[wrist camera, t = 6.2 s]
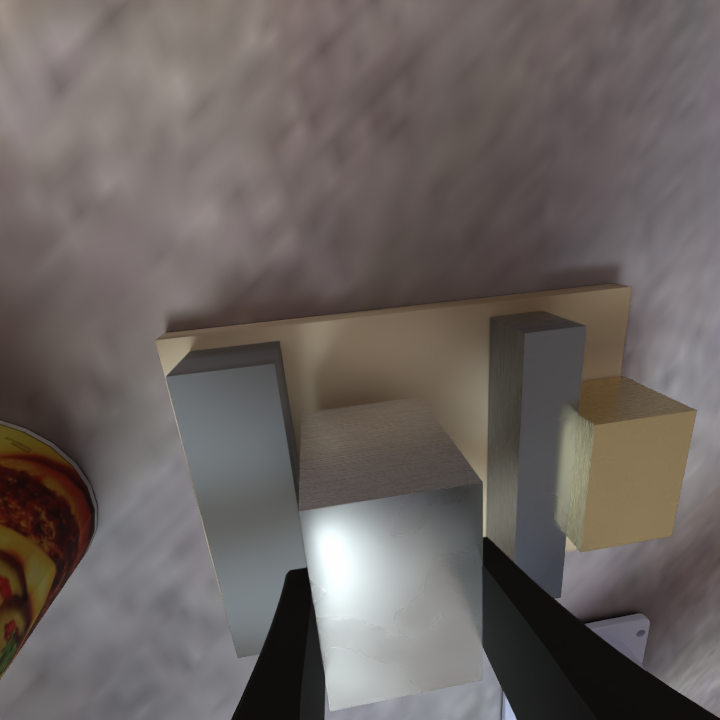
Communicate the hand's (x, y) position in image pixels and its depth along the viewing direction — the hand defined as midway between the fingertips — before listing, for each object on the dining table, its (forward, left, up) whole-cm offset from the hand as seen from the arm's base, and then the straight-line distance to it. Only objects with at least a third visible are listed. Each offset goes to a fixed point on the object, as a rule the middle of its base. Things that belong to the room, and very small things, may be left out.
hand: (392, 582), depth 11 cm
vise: (0, -2, -6) cm, 7 cm away
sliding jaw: (0, -8, -5) cm, 9 cm away
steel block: (0, 0, -4) cm, 4 cm away
